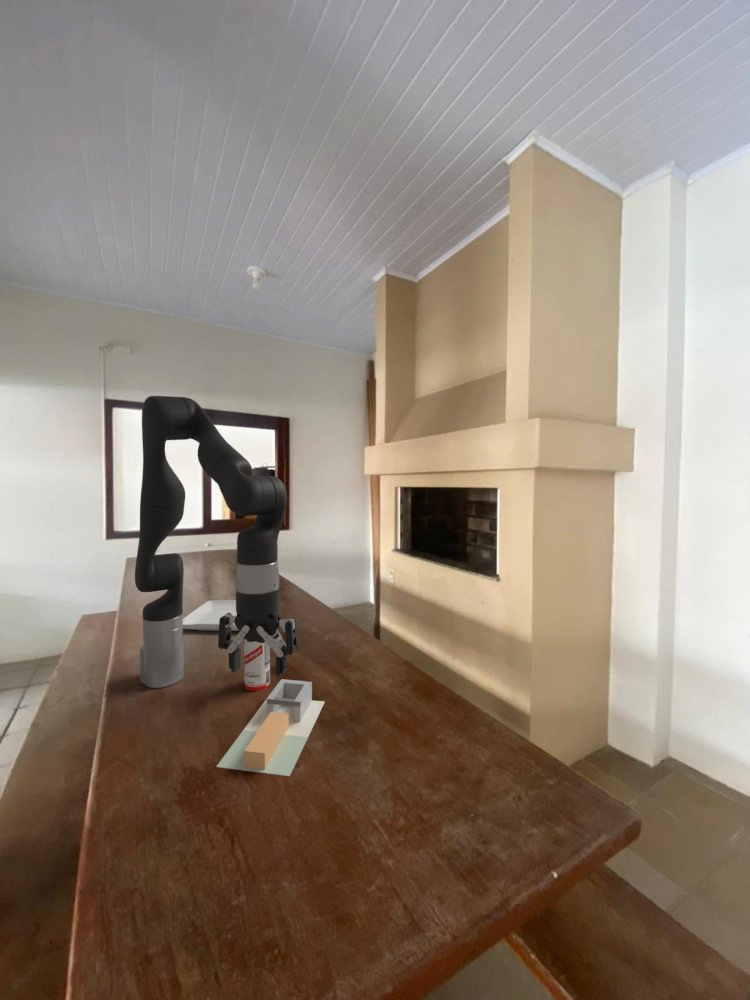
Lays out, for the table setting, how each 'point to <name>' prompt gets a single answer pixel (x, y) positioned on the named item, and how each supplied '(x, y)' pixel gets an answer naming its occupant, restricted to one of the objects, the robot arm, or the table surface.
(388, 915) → the table surface
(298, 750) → the two-tone mat
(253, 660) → the beer can
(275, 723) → the tan wooden plank
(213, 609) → the square plate
